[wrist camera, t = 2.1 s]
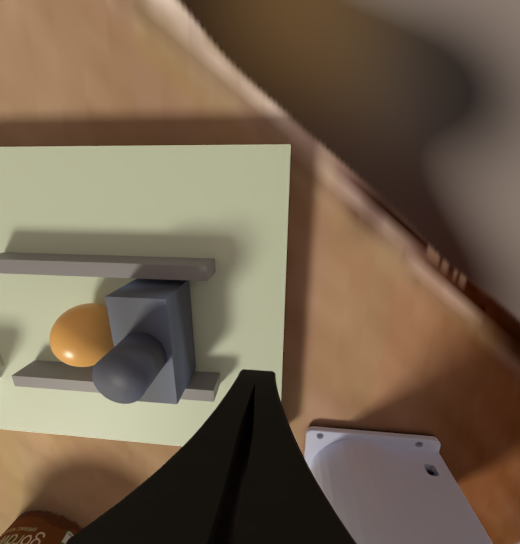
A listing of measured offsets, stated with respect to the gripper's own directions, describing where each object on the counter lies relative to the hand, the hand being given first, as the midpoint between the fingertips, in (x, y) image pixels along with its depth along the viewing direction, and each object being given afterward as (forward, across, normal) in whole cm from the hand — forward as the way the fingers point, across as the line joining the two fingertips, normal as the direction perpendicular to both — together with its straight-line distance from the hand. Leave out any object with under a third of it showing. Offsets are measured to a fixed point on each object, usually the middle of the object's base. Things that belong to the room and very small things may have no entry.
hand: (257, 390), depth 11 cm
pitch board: (+7, +13, 0) cm, 15 cm away
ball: (+3, +10, 0) cm, 11 cm away
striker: (+5, +6, 0) cm, 8 cm away
